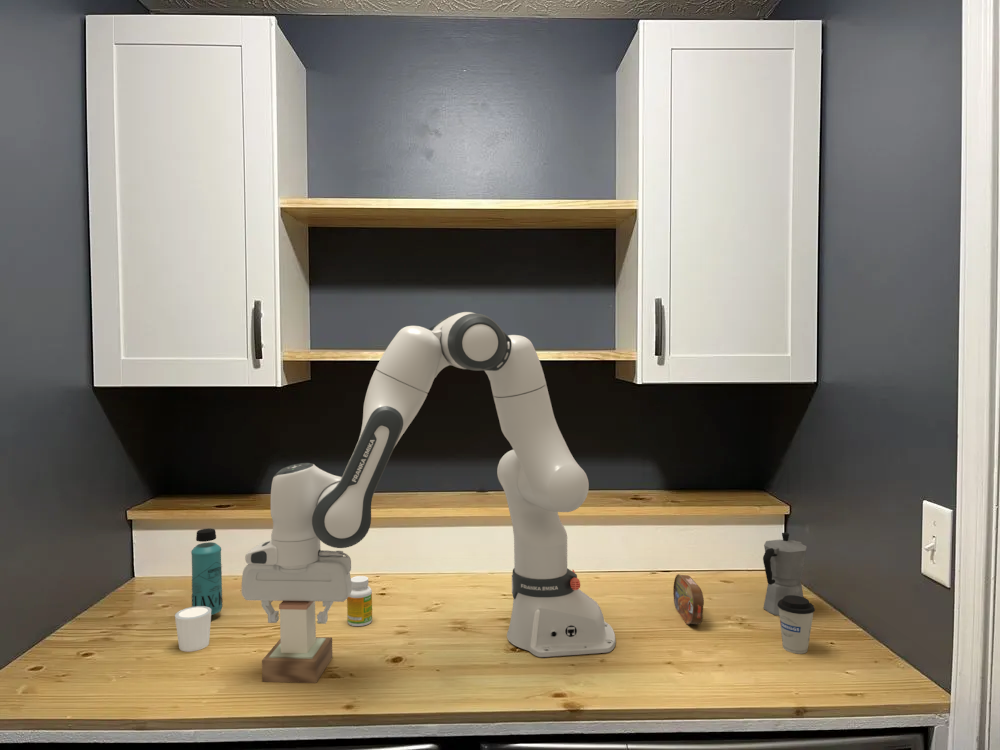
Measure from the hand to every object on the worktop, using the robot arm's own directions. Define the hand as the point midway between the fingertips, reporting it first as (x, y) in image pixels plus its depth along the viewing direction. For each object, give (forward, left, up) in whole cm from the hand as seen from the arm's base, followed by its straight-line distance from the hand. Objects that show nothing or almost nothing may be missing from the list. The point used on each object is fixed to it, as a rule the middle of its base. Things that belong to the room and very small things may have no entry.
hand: (297, 622), depth 130 cm
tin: (-79, -28, -9) cm, 84 cm away
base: (0, 0, -9) cm, 9 cm away
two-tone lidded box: (0, 0, -5) cm, 5 cm away
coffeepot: (-101, -32, -9) cm, 106 cm away
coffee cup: (-97, -13, -9) cm, 98 cm away
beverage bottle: (+29, -23, -9) cm, 38 cm away
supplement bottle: (-6, -22, -9) cm, 25 cm away
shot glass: (+25, -9, -9) cm, 28 cm away
